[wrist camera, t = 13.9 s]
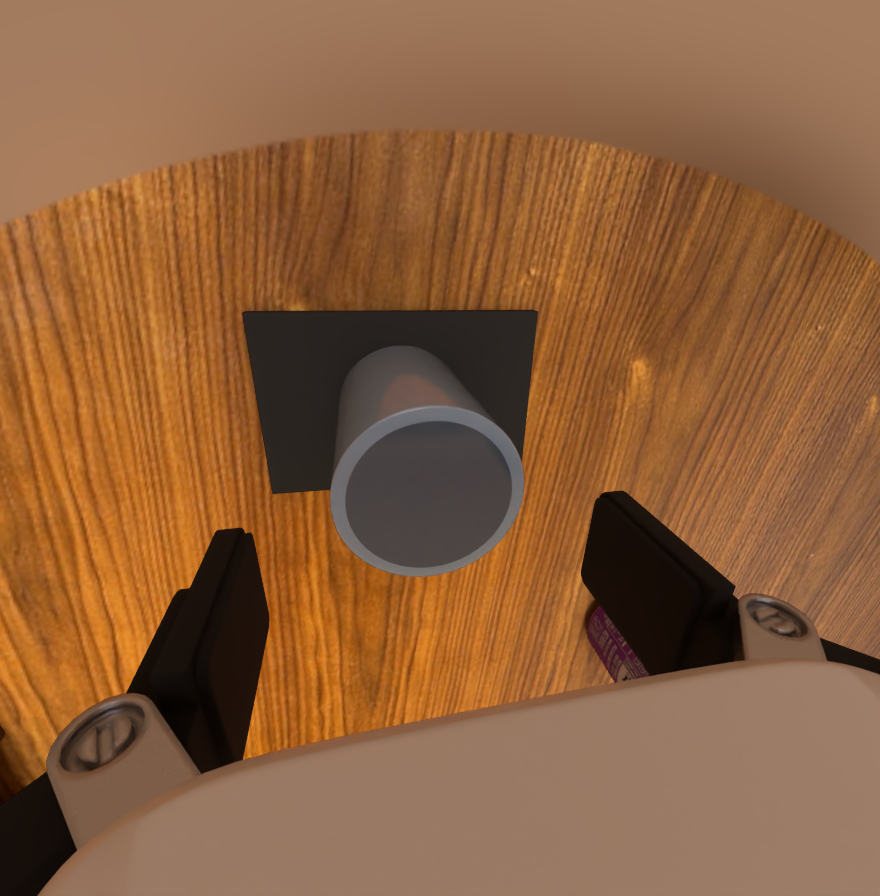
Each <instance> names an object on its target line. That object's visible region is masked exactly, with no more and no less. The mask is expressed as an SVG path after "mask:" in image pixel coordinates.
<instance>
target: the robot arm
mask: <svg viewBox="0 0 880 896" xmlns="http://www.w3.org/2000/svg"><path fill="white" fill-rule="evenodd" d="M581 577H582V580H583V582H584V584H585V586H586V587H587V588H588V590H589V591H590V593H591V594H592V595H593V597H594V598H595V599H596V601H597V602H598V604H599V605H600V606H601V608H602V609H603V611H604V612H605V613H606V615H607V616H608V618H609V619H610V620H611V622H612V623H613V624H614V626H615V627H616V629H617V630H618V631H619V633H620V634H621V636H622V637H623V638H624V640H625V641H626V643H627V644H628V645H629V647H630V648H631V649H632V651H633V652H634V654H635V655H636V656H637V658H638V659H639V661H640V662H641V663H642V665H643V666H644V667H645V669H646V670H647V672H648V673H649V674H650V676H649V677H643V678H638V679H633V680H627V681H622V682H617V683H611V684H606V685H601V686H595V687H590V688H585V689H580V690H574V691H569V692H564V693H559V694H554V695H548V696H543V697H538V698H533V699H528V700H523V701H517V702H512V703H507V704H502V705H497V706H492V707H487V708H482V709H476V710H471V711H466V712H461V713H456V714H451V715H446V716H441V717H436V718H431V719H426V720H421V721H416V722H411V723H406V724H401V725H396V726H391V727H386V728H381V729H376V730H371V731H366V732H361V733H356V734H352V735H347V736H343V737H338V738H333V739H329V740H324V741H320V742H315V743H310V744H306V745H301V746H297V747H292V748H288V749H283V750H279V751H275V752H271V753H267V754H264V755H260V756H256V757H252V758H248V759H245V760H243V756H244V751H245V746H246V741H247V736H248V731H249V726H250V720H251V715H252V710H253V705H254V700H255V695H256V690H257V685H258V680H259V675H260V670H261V665H262V660H263V655H264V650H265V645H266V640H267V634H268V629H269V612H268V607H267V602H266V597H265V592H264V587H263V582H262V577H261V572H260V567H259V563H258V558H257V553H256V548H255V543H254V538H253V535H252V533H245V532H244V530H243V528H234V529H224V530H217V531H216V532H215V534H214V536H213V538H212V541H211V543H210V545H209V547H208V549H207V552H206V554H205V556H204V558H203V560H202V563H201V565H200V567H199V569H198V571H197V574H196V576H195V578H194V580H193V582H192V585H191V587H190V588H188V589H180V590H179V591H177V592H176V594H175V595H174V597H173V599H172V601H171V603H170V605H169V607H168V609H167V611H166V613H165V615H164V617H163V619H162V621H161V623H160V625H159V627H158V629H157V631H156V634H155V636H154V638H153V640H152V642H151V644H150V646H149V648H148V650H147V652H146V654H145V656H144V658H143V660H142V662H141V664H140V666H139V668H138V670H137V672H136V674H135V676H134V678H133V680H132V682H131V685H130V687H129V689H128V691H127V693H126V694H120V695H117V696H114V697H111V698H108V699H105V700H103V701H101V702H99V703H97V704H95V705H93V706H91V707H90V708H88V709H87V710H85V711H84V712H83V713H81V714H80V715H79V716H77V717H76V718H75V719H74V720H73V721H72V722H71V723H70V724H69V725H68V726H67V727H66V728H65V729H64V730H63V731H62V732H61V733H60V734H59V736H58V737H57V739H56V740H55V742H54V743H53V745H52V746H51V749H50V752H49V754H48V757H47V760H46V764H47V772H45V773H44V774H43V775H41V776H40V777H39V778H37V779H36V780H35V781H33V782H32V783H31V784H29V785H28V786H26V787H25V788H24V789H22V790H21V791H20V792H18V793H17V794H16V795H14V796H13V797H11V798H10V799H9V800H7V801H6V802H5V803H3V804H2V805H1V806H0V896H880V660H879V659H877V658H874V657H871V656H868V655H866V654H863V653H860V652H857V651H855V650H852V649H849V648H846V647H844V646H841V645H838V644H835V643H833V642H830V641H827V640H824V639H822V638H819V635H818V632H817V629H816V628H815V626H814V624H813V622H812V621H811V620H810V619H809V618H808V617H807V616H806V615H805V614H804V613H802V612H801V611H800V610H798V609H797V608H796V607H794V606H792V605H790V604H788V603H787V602H785V601H783V600H780V599H777V598H775V597H772V596H768V595H764V594H752V593H751V594H747V595H743V596H742V597H741V598H740V599H739V600H738V599H737V598H736V597H735V596H734V595H733V592H734V590H735V587H736V586H734V585H733V584H732V583H731V582H730V581H729V580H727V579H726V578H725V577H724V576H723V575H722V574H720V573H719V572H718V571H717V570H716V569H715V568H713V567H712V566H711V565H710V564H709V563H708V562H707V561H705V560H704V559H703V558H702V557H701V556H700V555H698V554H697V553H696V552H695V551H694V550H693V549H691V548H690V547H689V546H688V545H687V544H686V543H684V542H683V541H682V540H681V539H680V538H679V537H677V536H676V535H675V534H674V533H673V532H672V531H670V530H669V529H668V528H667V527H666V526H665V525H663V524H662V523H661V522H660V521H659V520H658V519H656V518H655V517H654V516H653V515H652V514H651V513H649V512H648V511H647V510H646V509H645V508H644V507H642V506H641V505H640V504H639V503H638V502H637V501H635V500H634V499H633V498H632V497H631V496H630V495H628V494H627V493H626V492H624V491H613V492H604V493H602V494H601V495H600V498H597V499H596V501H595V504H594V509H593V514H592V519H591V524H590V529H589V534H588V539H587V544H586V548H585V553H584V558H583V563H582V568H581Z"/></svg>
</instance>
